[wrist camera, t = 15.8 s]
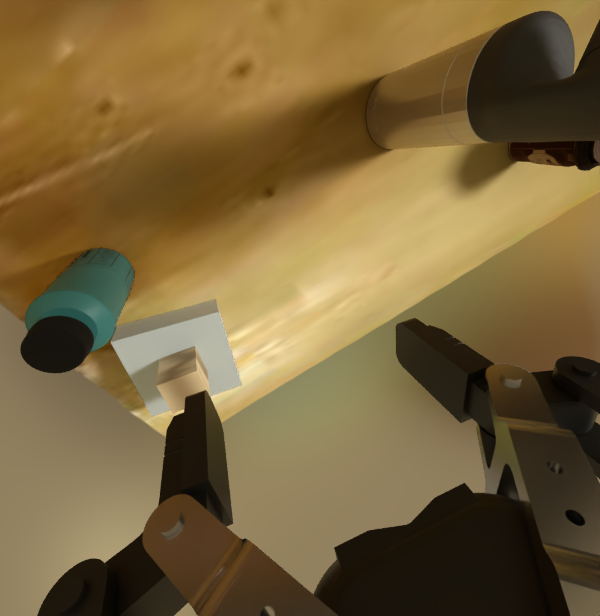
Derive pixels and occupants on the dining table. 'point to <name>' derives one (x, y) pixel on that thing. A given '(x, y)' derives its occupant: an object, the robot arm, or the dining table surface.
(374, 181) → the dining table surface
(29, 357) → the beverage bottle
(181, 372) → the maple block
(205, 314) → the base block
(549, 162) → the coffee cup
